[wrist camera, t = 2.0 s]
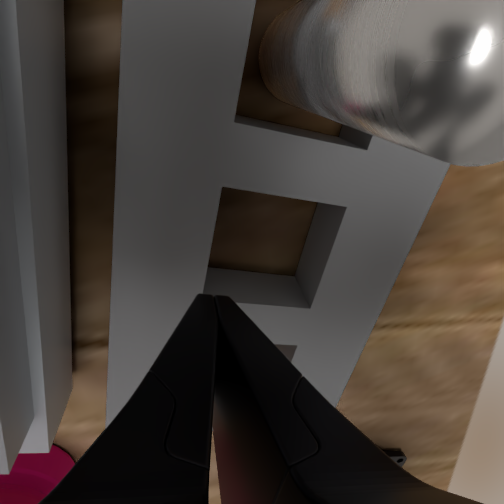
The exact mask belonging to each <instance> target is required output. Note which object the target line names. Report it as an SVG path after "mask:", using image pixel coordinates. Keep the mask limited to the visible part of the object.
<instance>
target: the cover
mask: <svg viewBox="0 0 504 504" xmlns="http://www.w3.org/2000/svg"><path fill="white" fill-rule="evenodd" d="M72 389H73V386H72V342H71V299H70V255H69V211H68V167H67V124H66V80H65V36H64V0H0V474H10V471H11V469H12V467H13V465H14V462H15V460H16V458H17V456H18V453H49V452H50V449H51V446H52V444H53V441H54V438H55V435H56V433H57V430H58V427H59V424H60V422H61V419H62V416H63V413H64V411H65V408H66V405H67V402H68V400H69V397H70V394H71V392H72Z"/></svg>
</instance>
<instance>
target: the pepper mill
mask: <svg viewBox="0 0 504 504" xmlns="http://www.w3.org/2000/svg"><path fill="white" fill-rule="evenodd" d="M74 465H75V463H74V461H73V460H72V458H71V457H70V455H69V454H67V453H66V452H64V451H63V450H62V449H60V448H59V447H57V446H55V445H52V446H51V449H50V452H49V453H18V456H17V458H16V460H15V462H14V465H13V467H12V469H11V471H10V474H0V504H38V503H39V502H40V501H41V500H42V499H43V498H44V497H45V496H47V495H48V494H49V493H50V492H51V491H52V490H53V489H54V488H55V487H56V485H57V484H58V483H59V482H60V481H61V480H62V479H63V478H64V477H65V475H66V474H67V473H68V472H69V471H70V470H71V468H72V467H73V466H74Z"/></svg>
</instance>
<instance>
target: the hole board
mask: <svg viewBox="0 0 504 504" xmlns="http://www.w3.org/2000/svg"><path fill="white" fill-rule="evenodd" d="M255 4H256V0H123V1H122V26H121V51H120V76H119V101H118V126H117V151H116V177H115V202H114V227H113V252H112V277H111V302H110V327H109V352H108V377H107V402H106V427H105V429H106V428H107V426H108V425H109V424H110V423H111V422H112V420H113V419H114V418H115V417H116V415H117V414H118V413H119V412H120V411H121V409H122V408H123V407H124V406H125V404H126V403H127V402H128V400H129V399H130V398H131V396H132V395H133V393H134V392H135V390H136V389H137V387H138V386H139V385H140V383H141V381H142V380H143V378H144V377H145V375H146V374H147V372H149V369H150V368H151V366H152V365H153V363H154V361H155V360H156V358H157V357H158V355H159V354H160V352H161V350H162V349H163V347H164V346H165V344H166V342H167V341H168V339H169V338H170V336H171V335H172V333H173V331H174V330H175V328H176V327H177V325H178V324H179V322H180V320H181V319H182V317H183V316H184V314H185V313H186V311H187V309H188V308H189V306H190V305H191V303H192V302H193V300H194V298H195V297H196V295H197V294H199V293H202V294H212V295H213V297H214V295H226V296H229V297H231V298H232V299H233V301H234V302H235V303H236V304H237V305H238V306H239V307H240V308H241V309H242V310H243V311H244V312H245V313H246V314H247V316H248V317H249V318H250V319H251V320H252V321H253V322H254V323H255V324H256V325H257V326H258V327H259V328H260V330H261V331H262V332H263V333H264V334H265V335H266V336H267V337H268V338H269V339H270V340H271V341H272V342H273V343H274V345H275V346H276V347H277V348H278V349H279V350H280V351H281V352H282V353H283V354H284V355H285V356H286V357H287V358H288V360H289V361H290V362H291V363H292V364H293V365H294V366H295V367H296V368H297V369H298V370H299V371H300V372H301V373H302V377H303V376H304V377H305V378H306V379H307V380H308V381H309V382H310V383H311V384H312V385H313V386H314V387H315V388H316V389H317V390H318V391H319V392H320V393H321V394H322V395H323V396H324V397H325V398H326V399H327V400H328V401H329V403H331V404H332V405H333V406H334V407H335V408H336V406H337V403H338V401H339V399H340V397H341V395H342V393H343V391H344V389H345V387H346V384H347V382H348V380H349V378H350V376H351V374H352V372H353V370H354V367H355V365H356V363H357V361H358V359H359V357H360V355H361V353H362V351H363V348H364V346H365V344H366V342H367V340H368V338H369V336H370V334H371V331H372V329H373V327H374V325H375V323H376V321H377V319H378V317H379V315H380V312H381V310H382V308H383V306H384V304H385V302H386V300H387V298H388V295H389V293H390V291H391V289H392V287H393V285H394V283H395V281H396V278H397V276H398V274H399V272H400V270H401V268H402V266H403V264H404V262H405V259H406V257H407V255H408V253H409V251H410V249H411V247H412V245H413V242H414V240H415V238H416V236H417V234H418V232H419V230H420V228H421V226H422V223H423V221H424V219H425V217H426V215H427V213H428V211H429V209H430V206H431V204H432V202H433V200H434V198H435V196H436V194H437V192H438V190H439V187H440V185H441V183H442V181H443V179H444V177H445V175H446V173H447V170H448V168H449V166H450V163H446V162H443V161H440V160H438V159H435V158H432V157H430V156H427V155H424V154H422V153H419V152H416V151H414V150H411V149H408V148H406V147H403V146H400V145H397V144H395V143H392V142H389V141H387V140H384V139H381V138H379V137H376V136H373V135H371V134H368V133H365V132H363V131H360V130H357V129H354V128H352V127H349V126H346V125H344V124H343V125H342V128H341V131H340V134H339V137H336V136H332V135H327V134H322V133H318V132H313V131H309V130H304V129H299V128H295V127H290V126H286V125H281V124H276V123H272V122H267V121H263V120H258V119H253V118H249V117H244V116H240V115H235V113H236V108H237V102H238V97H239V91H240V86H241V80H242V75H243V69H244V64H245V59H246V53H247V48H248V42H249V37H250V31H251V26H252V20H253V15H254V9H255ZM222 187H228V188H234V189H240V190H246V191H252V192H258V193H264V194H271V195H277V196H283V197H289V198H295V199H301V200H307V201H313V202H318V204H317V207H316V210H315V213H314V216H313V219H312V223H311V226H310V229H309V232H308V235H307V238H306V242H305V245H304V248H303V251H302V254H301V257H300V261H299V264H298V267H297V270H296V273H295V276H285V275H276V274H266V273H257V272H247V271H238V270H229V269H219V268H210V267H208V261H209V256H210V250H211V245H212V240H213V234H214V229H215V223H216V218H217V212H218V207H219V201H220V196H221V190H222ZM212 431H213V427H212Z"/></svg>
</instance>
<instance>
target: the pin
mask: <svg viewBox="0 0 504 504" xmlns="http://www.w3.org/2000/svg"><path fill="white" fill-rule="evenodd" d="M259 68H260V73H261V76H262V79H263V81H264V83H265V85H266V87H267V88H268V90H269V91H270V92H271V93H272V94H273V95H274V96H275V97H276V98H277V99H279V100H281V101H283V102H285V103H287V104H290V105H293V106H295V107H298V108H301V109H303V110H306V111H309V112H311V113H314V114H317V115H320V116H322V117H325V118H328V119H330V120H333V121H336V122H338V123H341V124H344V125H346V126H349V127H352V128H354V129H357V130H360V131H363V132H365V133H368V134H371V135H373V136H376V137H379V138H381V139H384V140H387V141H389V142H392V143H395V144H397V145H400V146H403V147H406V148H408V149H411V150H414V151H416V152H419V153H422V154H424V155H427V156H430V157H432V158H435V159H438V160H440V161H443V162H446V163H450V164H453V165H459V166H482V165H488V164H493V163H496V162H500V161H503V160H504V0H302V1H301V2H299V3H297V4H296V5H294V6H292V7H291V8H289V9H287V10H285V11H284V12H282V13H281V14H279V15H278V16H277V17H276V18H275V19H274V20H273V21H272V22H271V23H270V25H269V26H268V28H267V29H266V31H265V33H264V35H263V38H262V41H261V45H260V49H259Z"/></svg>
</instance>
